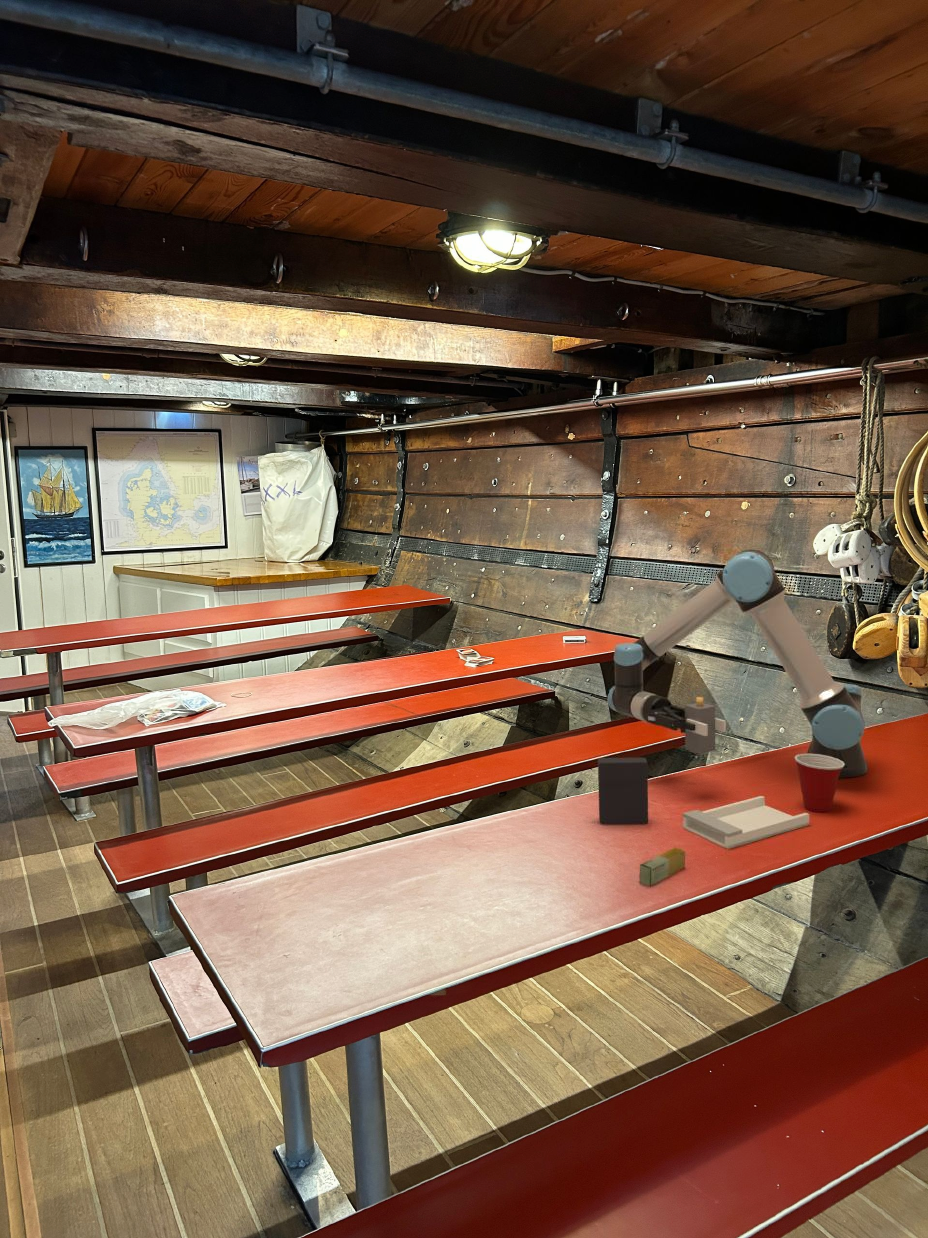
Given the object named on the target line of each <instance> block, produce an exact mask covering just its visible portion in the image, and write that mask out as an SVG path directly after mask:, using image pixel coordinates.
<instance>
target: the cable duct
mask: <svg viewBox="0 0 928 1238" xmlns="http://www.w3.org/2000/svg"><path fill="white" fill-rule="evenodd" d="M765 798H766V797H765V796H762V795H759V796H756V797H752V798H748V799H744V800H741V801H737V802H734V803H729V804H725V805H722V806H719V807H718V806H717V807H714V808H711V809H706V810H703V811H701V810H699V809H693V810H691V811H690V810H689V811H686V812H683V813H682V828H683V829H685V830H687V831H689V832H691V833H694V834H695V835H698V837H699V836H700V837H702V838H703V839H706V840H708V841H710V842H712V843H714V844H717V845H718V846H720V847H723V848H724V849H726V850H730V849H733V848H737V847H741V846H744V845H748V844H750V843H753V842H757V841H761V840H764V839H768V838H770V837H775V836H777V835H781V834H784V833H788V832H790V831H791V832H792V831H794V830H797V829H801V828H805V827H808V826H809V825H810V813H807V812H803V813H800V814H796V815H790V814H788V813H785V812H783V811H781V810H779V809H775V808H773V807H771V806H767V805H766V803H765V800H766V799H765Z"/></svg>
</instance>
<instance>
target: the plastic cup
mask: <svg viewBox="0 0 928 1238" xmlns="http://www.w3.org/2000/svg"><path fill="white" fill-rule="evenodd" d="M794 760H795V763H796V766H797V772H798V776H799V778H798V779H799V783H800V790H801V795H802V800H803V805H804V808H805V809H806V810H808V811H810V812H814V813H827V812H830V811H831V810H832V806H833V803H834V802H833V801H834V798H835V795H836V789H837V785H838V782H839V781H838V780H839V778H840V777H839V775H840V772H841V769H842V768H843V767H844V765H845V764H844V762H843V761H841V760H839V759H837V758H833V757H830V756H825V755H820V754H807V753H801V754H796V755H795V756H794Z"/></svg>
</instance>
